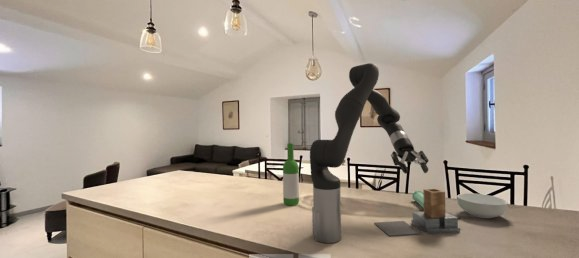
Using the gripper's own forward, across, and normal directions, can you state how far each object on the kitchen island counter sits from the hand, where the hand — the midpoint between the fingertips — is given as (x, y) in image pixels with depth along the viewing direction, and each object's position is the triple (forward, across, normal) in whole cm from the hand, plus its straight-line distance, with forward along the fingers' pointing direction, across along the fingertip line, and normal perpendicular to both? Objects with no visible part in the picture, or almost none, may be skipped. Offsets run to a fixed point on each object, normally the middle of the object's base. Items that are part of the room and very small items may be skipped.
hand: (416, 172), depth 105 cm
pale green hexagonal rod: (+6, +11, +21) cm, 24 cm away
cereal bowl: (+14, +28, +13) cm, 34 cm away
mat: (+20, -14, +6) cm, 25 cm away
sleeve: (+17, 0, +2) cm, 17 cm away
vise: (+21, +2, +6) cm, 21 cm away
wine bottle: (-6, -49, +33) cm, 59 cm away
